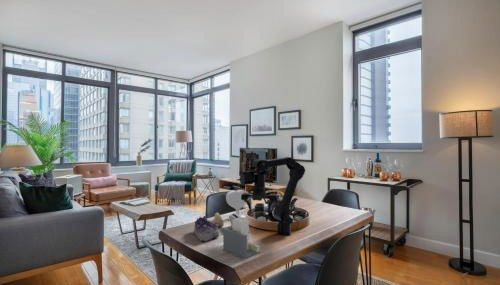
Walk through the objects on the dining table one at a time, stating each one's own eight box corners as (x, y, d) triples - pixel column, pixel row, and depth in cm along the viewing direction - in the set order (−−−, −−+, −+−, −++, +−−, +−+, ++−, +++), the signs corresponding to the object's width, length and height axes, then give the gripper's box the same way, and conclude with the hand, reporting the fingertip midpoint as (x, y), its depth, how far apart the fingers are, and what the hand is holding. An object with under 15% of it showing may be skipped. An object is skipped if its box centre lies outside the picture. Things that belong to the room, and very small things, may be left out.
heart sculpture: (245, 214, 182) (244, 188, 182) (249, 216, 178) (248, 189, 178) (225, 218, 174) (225, 191, 174) (229, 220, 169) (229, 192, 170)
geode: (186, 233, 147) (188, 214, 148) (206, 232, 153) (207, 214, 154) (199, 243, 130) (201, 222, 131) (220, 241, 136) (222, 221, 137)
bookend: (238, 244, 130) (238, 223, 130) (259, 252, 120) (259, 230, 120) (223, 250, 122) (222, 228, 122) (244, 259, 113) (243, 236, 113)
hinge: (250, 232, 146) (244, 216, 145) (243, 236, 144) (237, 220, 143) (238, 224, 161) (233, 209, 160) (232, 227, 159) (226, 213, 158)
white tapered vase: (241, 246, 126) (240, 216, 126) (249, 249, 122) (249, 218, 122) (232, 249, 121) (232, 219, 122) (241, 253, 118) (241, 221, 118)
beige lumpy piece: (203, 222, 148) (199, 218, 156) (208, 236, 149) (203, 231, 157) (220, 214, 153) (215, 211, 161) (225, 227, 154) (219, 223, 162)
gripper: (238, 185, 132) (238, 216, 132) (275, 186, 128) (275, 218, 128) (243, 182, 143) (243, 211, 143) (277, 183, 139) (278, 212, 139)
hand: (259, 213), depth 138 cm, fingers open, 9 cm apart
